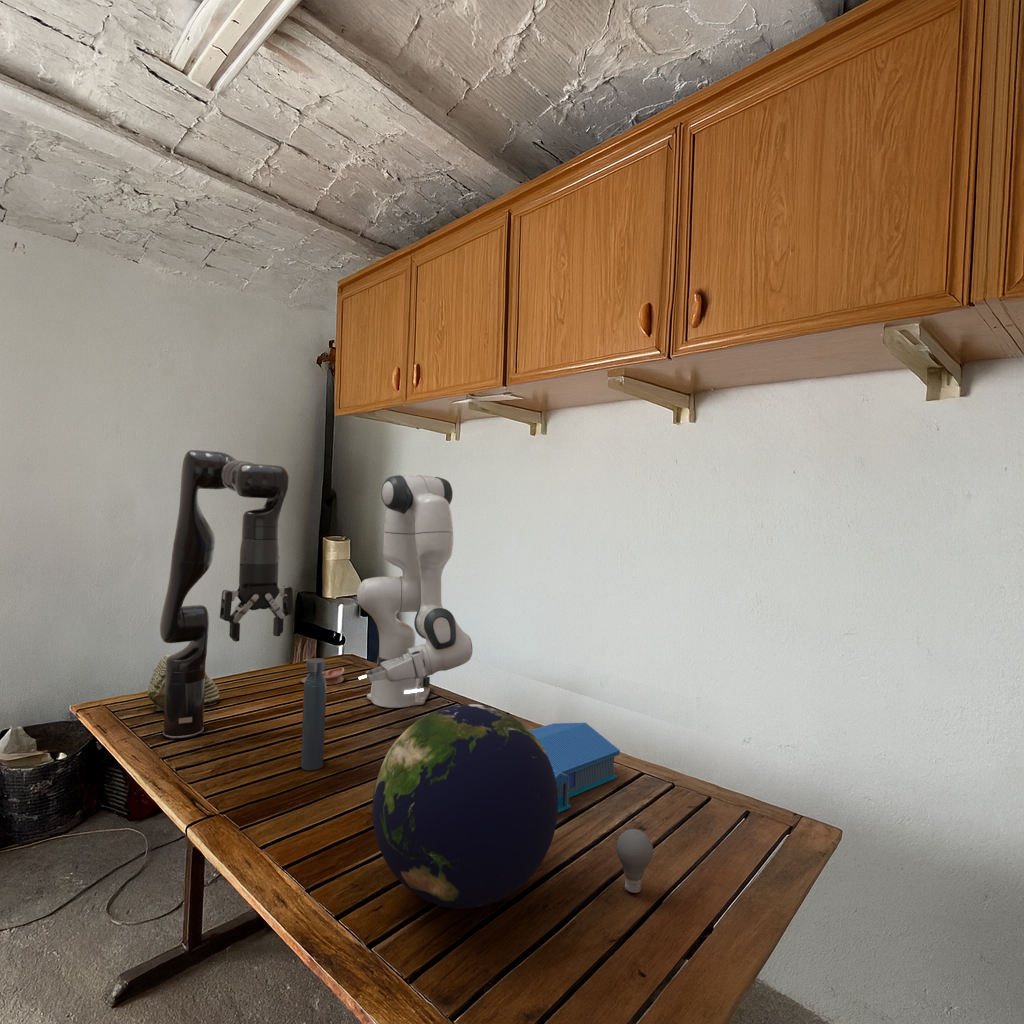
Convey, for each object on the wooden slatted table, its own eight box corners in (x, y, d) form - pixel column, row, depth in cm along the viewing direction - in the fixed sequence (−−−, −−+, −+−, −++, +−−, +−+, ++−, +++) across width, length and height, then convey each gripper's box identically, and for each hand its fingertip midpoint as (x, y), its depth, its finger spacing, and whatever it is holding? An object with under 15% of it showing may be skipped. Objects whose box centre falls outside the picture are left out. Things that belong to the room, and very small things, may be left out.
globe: (328, 919, 95) (336, 721, 95) (427, 827, 123) (434, 674, 122) (512, 985, 84) (522, 760, 83) (576, 867, 112) (584, 698, 111)
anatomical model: (296, 671, 211) (313, 663, 222) (295, 683, 211) (313, 674, 222) (332, 675, 208) (348, 666, 219) (332, 687, 208) (348, 678, 219)
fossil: (144, 707, 182) (145, 655, 182) (212, 696, 194) (213, 647, 194) (151, 716, 175) (153, 662, 175) (221, 703, 188) (223, 653, 188)
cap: (305, 672, 146) (306, 663, 145) (306, 667, 150) (306, 658, 150) (325, 671, 147) (325, 662, 147) (325, 666, 151) (325, 657, 151)
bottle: (300, 771, 145) (304, 665, 145) (301, 762, 150) (305, 659, 150) (323, 769, 147) (327, 664, 146) (323, 760, 152) (327, 659, 151)
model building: (501, 837, 120) (504, 785, 120) (427, 790, 139) (429, 744, 138) (628, 782, 147) (630, 739, 147) (552, 748, 165) (553, 710, 165)
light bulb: (610, 879, 108) (613, 822, 108) (644, 879, 109) (647, 822, 109) (619, 902, 102) (622, 840, 102) (655, 901, 103) (658, 840, 103)
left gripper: (285, 557, 139) (282, 631, 139) (217, 559, 129) (214, 638, 129) (300, 561, 134) (297, 637, 134) (230, 563, 124) (227, 646, 124)
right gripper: (409, 649, 188) (362, 662, 183) (419, 654, 168) (367, 668, 164) (414, 670, 187) (367, 683, 183) (425, 677, 168) (373, 692, 164)
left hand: (256, 638), depth 132 cm, fingers open, 8 cm apart
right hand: (367, 676), depth 173 cm, fingers open, 8 cm apart
